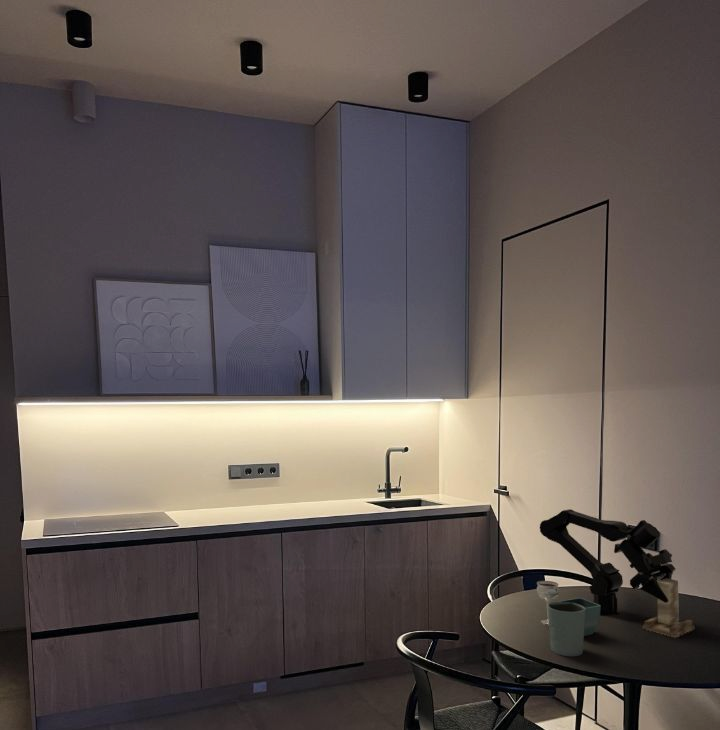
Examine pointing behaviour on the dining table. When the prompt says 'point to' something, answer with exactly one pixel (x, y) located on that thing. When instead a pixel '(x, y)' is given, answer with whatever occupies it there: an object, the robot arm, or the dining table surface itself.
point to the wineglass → (547, 593)
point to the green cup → (566, 628)
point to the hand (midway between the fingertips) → (672, 600)
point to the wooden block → (668, 610)
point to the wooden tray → (668, 627)
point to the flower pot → (588, 614)
